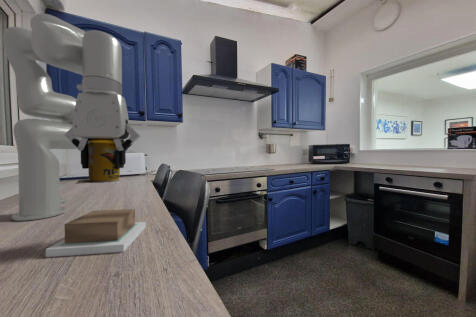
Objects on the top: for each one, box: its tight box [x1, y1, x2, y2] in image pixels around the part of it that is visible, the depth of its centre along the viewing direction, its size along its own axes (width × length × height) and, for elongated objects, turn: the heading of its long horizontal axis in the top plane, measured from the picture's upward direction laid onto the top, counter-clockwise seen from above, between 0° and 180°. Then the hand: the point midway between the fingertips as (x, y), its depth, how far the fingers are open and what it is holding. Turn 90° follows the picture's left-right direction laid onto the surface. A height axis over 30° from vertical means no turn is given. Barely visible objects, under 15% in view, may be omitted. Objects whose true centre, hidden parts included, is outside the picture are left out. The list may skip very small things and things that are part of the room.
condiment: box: [74, 138, 123, 185], centre depth 46 cm, size 7×8×12 cm
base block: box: [64, 208, 136, 244], centre depth 46 cm, size 10×10×4 cm
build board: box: [45, 221, 147, 258], centre depth 46 cm, size 14×14×2 cm
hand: (103, 167), depth 46 cm, fingers closed on condiment, 6 cm apart
